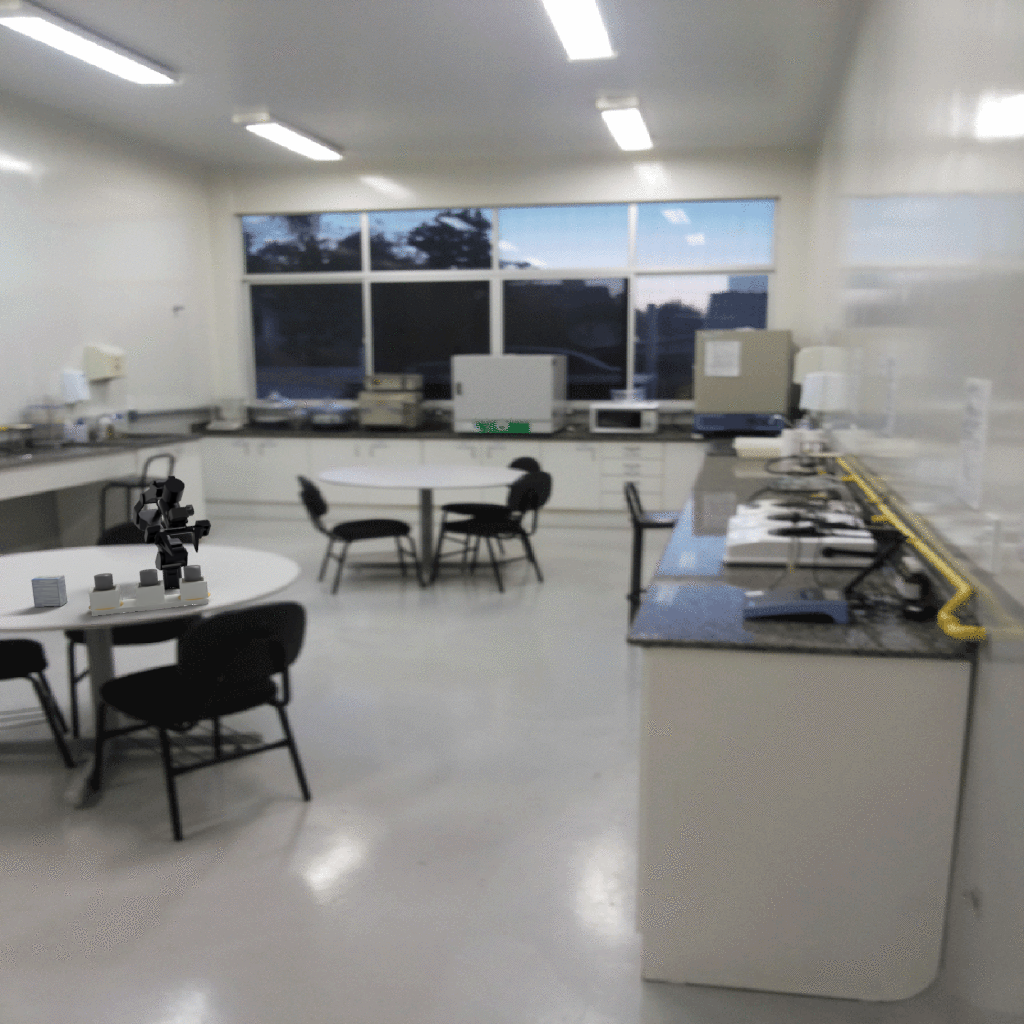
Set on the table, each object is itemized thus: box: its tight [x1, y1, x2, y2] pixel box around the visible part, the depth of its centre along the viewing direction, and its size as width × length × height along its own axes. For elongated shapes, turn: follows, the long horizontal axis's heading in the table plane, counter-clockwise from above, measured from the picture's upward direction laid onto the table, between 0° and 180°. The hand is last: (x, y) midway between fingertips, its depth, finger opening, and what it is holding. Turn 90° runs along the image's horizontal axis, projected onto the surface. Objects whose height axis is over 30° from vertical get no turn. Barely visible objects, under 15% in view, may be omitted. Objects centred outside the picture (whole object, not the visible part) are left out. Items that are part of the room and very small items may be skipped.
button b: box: [138, 568, 159, 586], centre depth 258 cm, size 5×5×4 cm
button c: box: [93, 572, 114, 591], centre depth 254 cm, size 5×5×4 cm
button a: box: [182, 564, 202, 582], centre depth 262 cm, size 5×5×4 cm
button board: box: [88, 575, 211, 617], centre depth 259 cm, size 10×33×6 cm, turn 111°
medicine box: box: [30, 574, 69, 608], centre depth 262 cm, size 8×4×9 cm, turn 92°
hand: (185, 553), depth 266 cm, fingers open, 7 cm apart
